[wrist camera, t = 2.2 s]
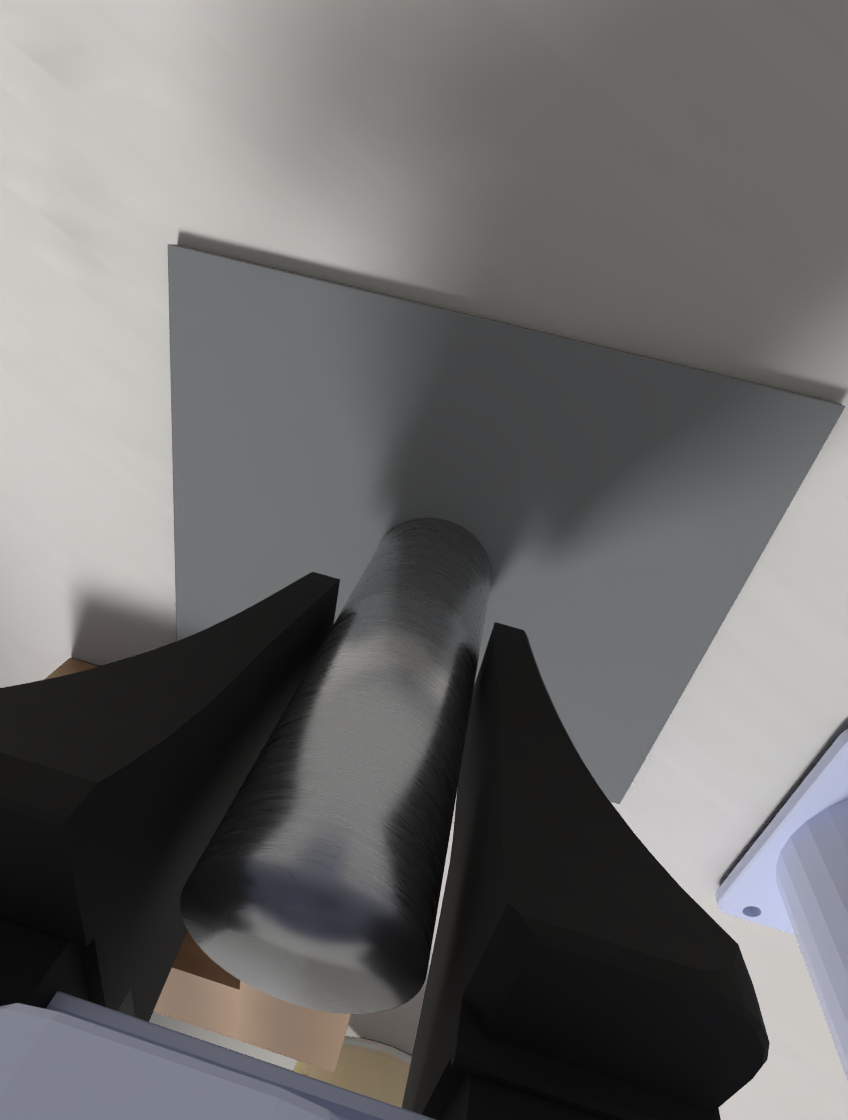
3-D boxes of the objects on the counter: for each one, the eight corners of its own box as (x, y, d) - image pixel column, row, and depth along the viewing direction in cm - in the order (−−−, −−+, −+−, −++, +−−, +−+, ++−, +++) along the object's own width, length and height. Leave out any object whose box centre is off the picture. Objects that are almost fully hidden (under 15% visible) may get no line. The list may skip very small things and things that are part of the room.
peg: (505, 535, 14) (453, 910, 6) (475, 634, 15) (401, 1039, 7) (385, 503, 14) (177, 825, 6) (366, 604, 15) (180, 968, 8)
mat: (838, 403, 11) (845, 406, 11) (618, 795, 17) (619, 804, 17) (175, 245, 12) (167, 244, 12) (182, 668, 18) (177, 674, 18)
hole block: (419, 761, 18) (389, 881, 15) (365, 954, 24) (334, 1072, 21) (70, 657, 19) (-37, 748, 16) (100, 869, 25) (28, 969, 21)
